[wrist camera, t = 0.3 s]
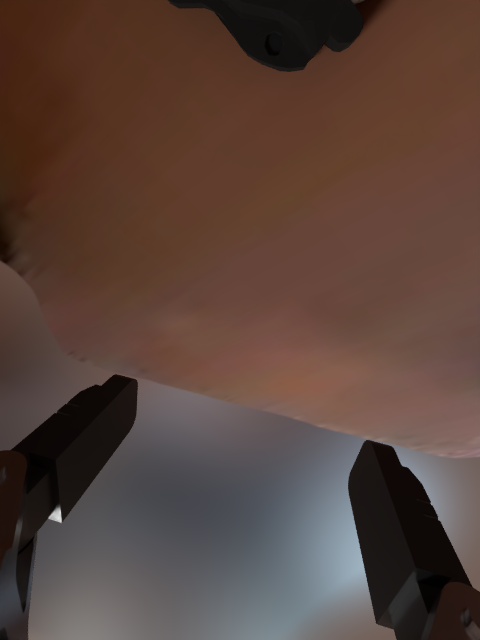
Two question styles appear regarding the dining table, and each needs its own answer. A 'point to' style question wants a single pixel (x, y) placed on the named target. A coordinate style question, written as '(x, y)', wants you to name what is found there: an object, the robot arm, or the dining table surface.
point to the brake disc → (285, 27)
